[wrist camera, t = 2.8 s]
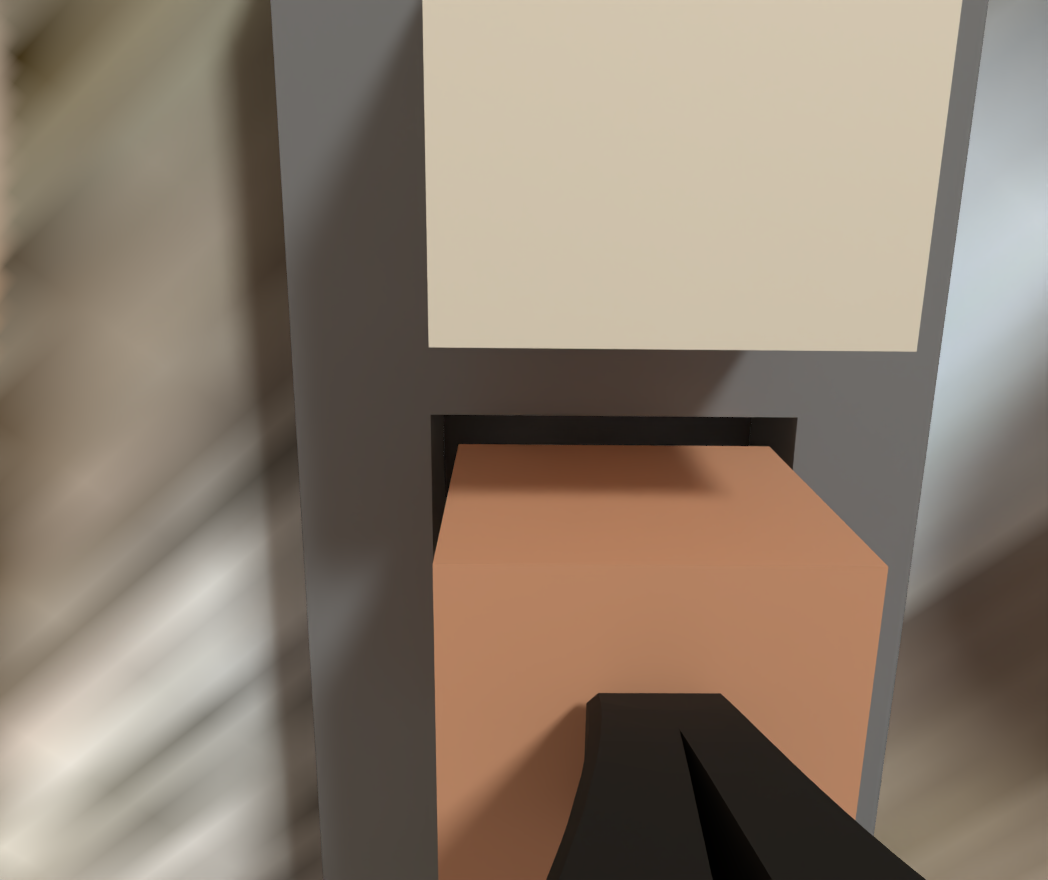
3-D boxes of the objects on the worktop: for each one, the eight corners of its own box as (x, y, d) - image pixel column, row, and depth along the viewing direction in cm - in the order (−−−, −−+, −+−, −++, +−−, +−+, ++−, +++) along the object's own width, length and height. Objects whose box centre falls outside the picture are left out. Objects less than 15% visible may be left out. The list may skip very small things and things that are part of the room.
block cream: (782, 297, 12) (917, 351, 8) (457, 294, 12) (429, 346, 8) (814, -64, 11) (989, -213, 7) (454, -70, 11) (418, -224, 7)
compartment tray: (797, 983, 18) (837, 1096, 16) (358, 983, 18) (336, 1097, 16) (924, -116, 13) (1013, -181, 11) (304, -126, 13) (258, -194, 11)
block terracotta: (745, 718, 14) (839, 937, 10) (461, 717, 14) (439, 936, 10) (769, 446, 13) (888, 566, 9) (458, 444, 13) (432, 563, 9)
